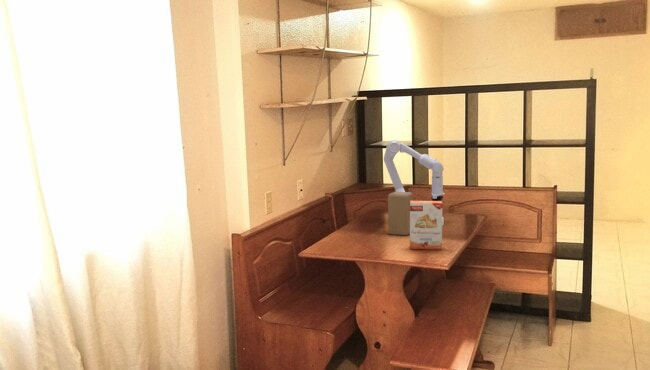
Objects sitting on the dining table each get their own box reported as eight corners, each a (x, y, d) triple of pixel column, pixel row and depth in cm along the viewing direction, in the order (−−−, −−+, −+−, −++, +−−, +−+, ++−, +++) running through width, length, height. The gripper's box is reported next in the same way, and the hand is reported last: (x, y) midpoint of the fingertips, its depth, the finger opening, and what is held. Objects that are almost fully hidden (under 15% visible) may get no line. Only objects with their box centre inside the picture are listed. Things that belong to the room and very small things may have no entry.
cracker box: (409, 249, 259) (409, 202, 256) (409, 246, 265) (409, 200, 262) (442, 250, 257) (442, 202, 254) (441, 246, 263) (442, 200, 260)
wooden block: (413, 231, 294) (413, 192, 291) (407, 236, 285) (407, 195, 282) (394, 230, 298) (393, 191, 295) (387, 234, 289) (387, 194, 286)
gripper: (442, 186, 304) (442, 212, 306) (447, 183, 318) (447, 207, 320) (428, 186, 307) (428, 212, 309) (434, 182, 320) (434, 207, 322)
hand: (437, 210), depth 314 cm, fingers closed
